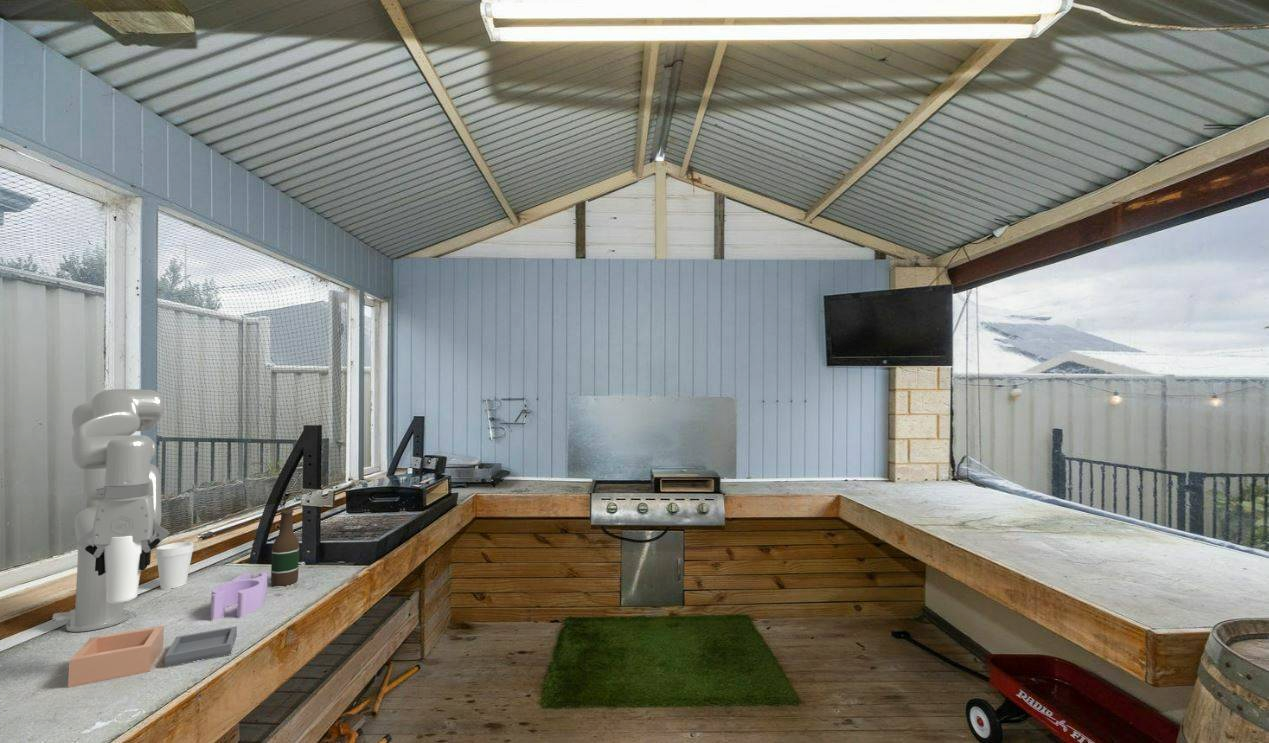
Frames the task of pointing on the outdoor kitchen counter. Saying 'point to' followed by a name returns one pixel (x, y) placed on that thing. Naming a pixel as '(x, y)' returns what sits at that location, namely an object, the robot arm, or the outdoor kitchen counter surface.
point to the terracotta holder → (116, 656)
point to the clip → (239, 595)
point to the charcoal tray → (201, 646)
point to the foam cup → (174, 563)
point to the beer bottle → (285, 553)
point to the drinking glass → (122, 569)
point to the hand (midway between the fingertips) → (123, 570)
